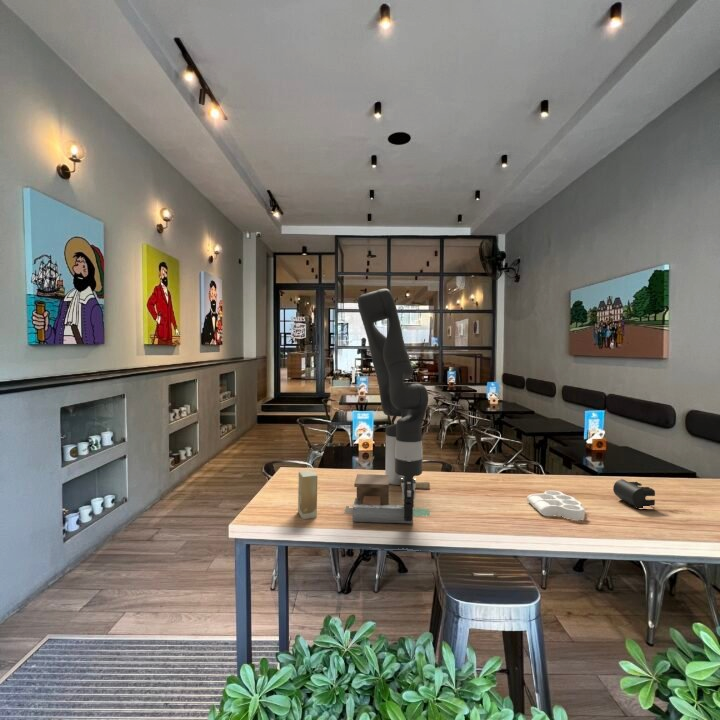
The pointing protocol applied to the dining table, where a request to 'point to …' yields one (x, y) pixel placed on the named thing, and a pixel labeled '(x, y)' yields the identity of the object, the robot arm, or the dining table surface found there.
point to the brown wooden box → (373, 487)
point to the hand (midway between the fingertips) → (408, 518)
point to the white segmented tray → (557, 505)
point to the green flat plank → (415, 511)
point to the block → (371, 500)
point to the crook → (378, 513)
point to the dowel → (422, 485)
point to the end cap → (633, 493)
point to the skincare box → (307, 494)
